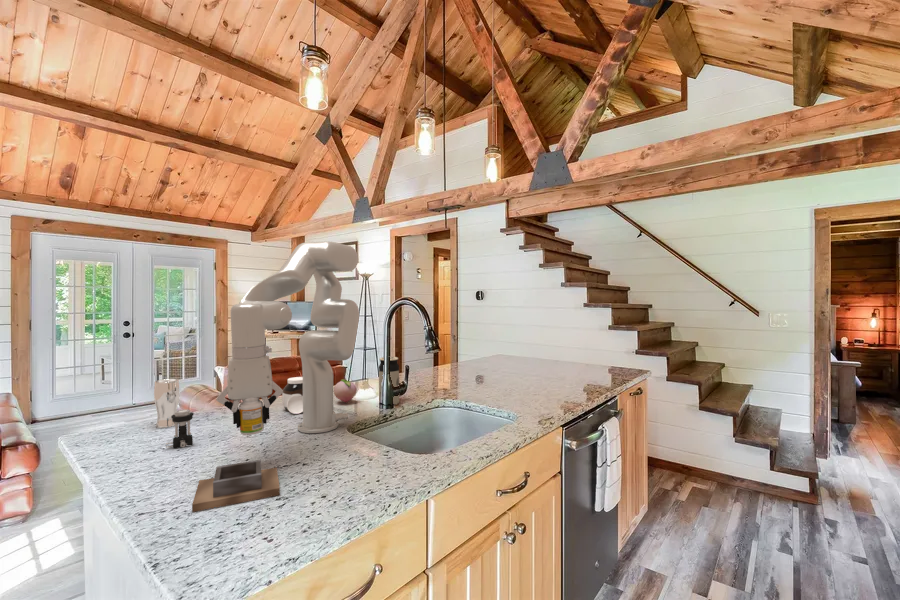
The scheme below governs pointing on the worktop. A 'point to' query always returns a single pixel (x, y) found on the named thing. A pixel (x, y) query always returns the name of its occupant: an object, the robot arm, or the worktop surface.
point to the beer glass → (166, 401)
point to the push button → (182, 429)
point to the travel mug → (393, 372)
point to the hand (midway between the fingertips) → (251, 423)
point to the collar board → (236, 485)
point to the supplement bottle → (251, 416)
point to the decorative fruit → (345, 390)
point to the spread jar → (293, 395)
